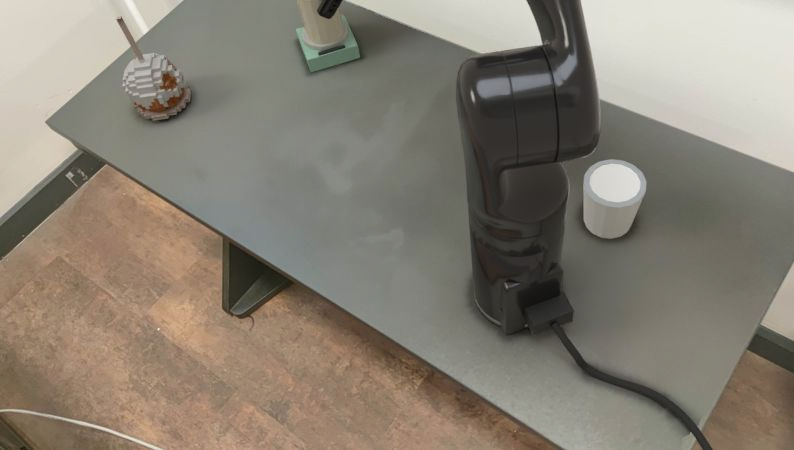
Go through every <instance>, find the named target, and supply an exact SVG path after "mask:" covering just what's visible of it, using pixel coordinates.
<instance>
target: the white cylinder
mask: <svg viewBox="0 0 794 450" xmlns="http://www.w3.org/2000/svg"><path fill="white" fill-rule="evenodd" d="M582 190H583V194H582V195H583V197H582V198H583V223H584V225H585V228H586V229H587V230H588V231H589V232H590V233H591V234H592V235H594V236H596V237H598V238H601V239H609V240H612V239H617V238H621V237H623V236H624V235H626V234H627V233H628V232H629V231H630V229H631V227H632V225H633V223H634V221H635V219H636V216H637V213H638V211H639V209H640V207H641V205H642V202H643V199H644V197H645V194H646V192H647V178H645V175H644V173H643V171H641V170H640V169H639V168H638V167H636V166H635V164H632V163H630V162H628V161H626V160H623V159H613V158H610V159H605V160H600V161H598V162H595V163H594V164H592V165H591V166H589V167H588V169H587V170H586V172H585V173H584V175H583V187H582Z"/></svg>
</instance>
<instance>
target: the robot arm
mask: <svg viewBox="0 0 794 450" xmlns="http://www.w3.org/2000/svg"><path fill="white" fill-rule="evenodd" d="M343 1H344V0H322V2H321V4H320V5H319V7H318V9H317V13H318V14H319V15H320V16H322V17H324V18H327V19H331V18H332V17H333V16H334V14H335V13H336V11H337V9H338V7H339V8H340V5H341V4H342V2H343ZM525 1H526V3H527V5H528V7H529V9H530V11H531V14H532V17H533V18H534V22H535V24H536V27H537V30H538V33H539V37H540V40H541V44H540V45H532V46H525V47H518V48H511V49H505V50H498V51H497V50H495V51H491V52H485V53H479V54H474V55H470V56H468V57H467V58H465V59H464V60H463V61H462V63H461V64H460V66H459V69H458V71H457V76H456V81H455V104H456V112H457V113H456V114H457V119H458V120H457V121H458V126H459V133H460V139H461V144H462V151H463V157H464V158H463V159H464V168H465V169H464V170H465V182H466V201H467V210H468V211H467V212H468V229H469V239H470V240H469V241H470V256H471V257H470V258H471V270H472V272H471V273H472V281H473V284H472V285H473V286H472V293H473V300H474V303H475V306H476V308H477V309H478V311H479V312H480V314H481V315H482V316H483V317H484V318H485V319H486V320H488V321H489V322H490V323H492V324H494V325H496V326H498V327H501V329H502V330H503V332H504V334H505V335H511V334H514V333H516V332H520V331H522V330H525V329H528V328H529V329H528V330H529V331H530V332H531V335H532V336H533V337H535V336H537V335H539V334H542V333H545V332H547V331H550V330H552V331H553V332H554V333H555V335H556V336H557V338H558V340H559V341H560V343H561V344H562V346H563V347H564V348H565V349H566V351H567V353H569V355H570V356H571V357H572V359H573V360H574V361H575V363H576V364H577V366H578V367H579V368H580V369H581V370H582V371H583V372H585V373H587V374H588V375H589V376H592V377H593V378H595V379H597V380H600V381H602V382H604V383H607V384H610V385H613V386H615V387H619V388H622V389H626V390H629V391H632V392H634V393H638V394H641V395H643V396H646V397H648V398H649V399H652V400H654V401H656V402H658V403H659V404H661V405H662V406H664V407H665V408H666V409H668V410H669V411H670V412H672V413H673V414H674V415H675V416H676V417H677V418H678V419H679V420H680V421H681V423H683V424H684V425H685V426H686V428H687V429H688V430H689V431H690V433H691V434H692V435H693V437H694V438H695V440H696V441H697V443H698V444H699V446H700V447H701V449H702V450H714V449H713V447H712V445H711V444H710V443H709V441H708V440H707V438H706V437H705V435H704V433H703V432H702V431H701V429H700V428H699V426H697V424H696V423H695V421H694V420H693V419H692V418H691V417H690V416H689V415H688V414H687V413H686V412H685V411H684V410H683V409H682V408H681V406H679V405H677V404H676V403H675V402H674V401H673V400H672V399H669V398H668V397H667V396H665V395H663V394H661V393H660V392H658V391H656V390H655V389H652V388H650V387H648V386H644V385H642V384H639V383H636V382H633V381H629V380H626V379H622V378H619V377H617V376H613V375H610V374H607V373H605V372H603V371H601V370H599V369H597V368H595V367H594V366H592V365H591V364H590V363H588V362H587V361H586V360H585V359H584V357H583V356H582V354H581V353H580V352H579V350H578V349H577V348H576V346H575V344H573V342H572V341H571V339H570V338H569V336H568V335H567V333H566V332H565V331H564V329H563V328H562V326H564V325H566V324H569V323H572V322H573V321H574V314H575V310H574V308H573V306H572V304H571V302H570V300H569V298H568V297H567V295H566V293H565V291H564V290H562V286H563V279H564V278H563V277H564V268H563V267H562V256H563V248H564V246H563V245H564V239H565V229H566V222H567V214H568V207H569V198H570V189H571V187H570V179H569V175H568V172H567V170H566V168H565V166H564V164H563V162H569V161H575V160H576V161H577V160H581V159H583V158H584V159H585V158H587V157H589V156H591V155H593V153H594V152H595V151H596V149H597V147H598V146H599V145H598V144H599V141H600V136H601V128H602V112H601V99H600V93H599V92H600V91H599V85H598V79H597V74H596V69H595V63H594V57H593V53H592V49H591V44H590V39H589V34H588V33H589V32H588V28H587V23H586V19H585V15H584V10H583V9H584V8H583V5H582V0H525Z"/></svg>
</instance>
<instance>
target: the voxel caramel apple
mask: <svg viewBox="0 0 794 450" xmlns="http://www.w3.org/2000/svg"><path fill="white" fill-rule="evenodd" d="M115 20H116V22H117V23H118V26H119V27H120V29H121V31H122V33H123V34H124V37H125V38H126V40H127V42H128V44H129V45H130V48H131V49H132V51H133V53H134V54H135V56H136V57H135V58H133V59H131V61H129V62H128V64H127V65H126V68H125V69H124V71H123V76H122V84H121V88H122V89H123V91H124V92H125V94H126V96H127V97H128V99H129V101H130V103H131V104H134V107H133V108H134V109H135V110H137V111H136V112H137V114H138V115H140V117H142V118H144V119H145V120H148V119H151V121H154V122H155V121H160V120H167V119H169V118H170V116H175V115H176V116H177V115H178V113H179V112H181V111H182V109H185V108H186V105H187V103H191V96H192V90H191V88H189V84H188V83H186V80H185V75H184V73H183V71H182V70H181V68H178V67H177V66H176V64H175V63H173V62H172V61H171V59H170V58H168V56H167V54H161V55H160V54H159V53H155V52H150V53H143V54H142V52H141V49H140V48H139V46H138V45H137V42H136V41H135V39H134V37H133V36H132V34H131V32H130V29H129V28H128V26H127V24H126V22H125V20H124V18H123V17H122V15H119V16H116V18H115Z"/></svg>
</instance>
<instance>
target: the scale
mask: <svg viewBox="0 0 794 450" xmlns="http://www.w3.org/2000/svg"><path fill="white" fill-rule="evenodd" d="M341 19H342V24H343V34H342V35H341V37H340V38H339V39H337V40H336V41H334V42H331V43H328V44H316V43H313V42H311V41H310V40H309V39H308V37H307V34H306V32H305V28H304V26H302V27H297V28H295V33H296V35H297V38H298V41H299V45H300V47H301V49H302V52H303V56H304V58H305V61H306V63H307V66H308V68H309V72H310V73H314V72H317V71H321V70H324V69H328V68H331V67H335V66H337V65H341V64H344V63H348V62H351V61H355V60H358V59H360V58H361V54H360V49H359V45H358V43H357V41H356V38H355V36H354V33H353V31H352V30H351V27H350V24H349V23H348V21H347V18H346V16H345V14H343V15H341Z"/></svg>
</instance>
